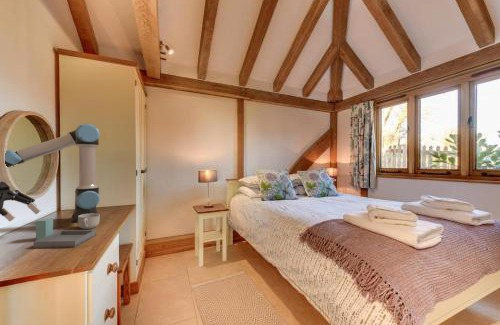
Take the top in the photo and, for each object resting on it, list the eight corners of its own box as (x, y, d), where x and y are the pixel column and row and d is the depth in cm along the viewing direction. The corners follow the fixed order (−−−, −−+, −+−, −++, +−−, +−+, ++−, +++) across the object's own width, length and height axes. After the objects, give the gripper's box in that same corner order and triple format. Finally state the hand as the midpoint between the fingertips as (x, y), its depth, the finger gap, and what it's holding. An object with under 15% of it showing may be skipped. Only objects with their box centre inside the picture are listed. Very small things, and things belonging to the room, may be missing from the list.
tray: (60, 235, 112) (61, 230, 112) (96, 235, 114) (96, 229, 114) (33, 247, 97) (33, 241, 97) (74, 247, 99) (75, 241, 98)
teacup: (84, 225, 131) (84, 212, 131) (103, 224, 133) (103, 212, 133) (69, 233, 117) (70, 219, 117) (91, 232, 119) (91, 218, 119)
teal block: (43, 237, 110) (44, 218, 110) (52, 237, 110) (53, 218, 110) (35, 240, 105) (36, 220, 105) (45, 240, 106) (45, 220, 106)
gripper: (14, 188, 117) (42, 214, 119) (-44, 195, 92) (-8, 228, 94) (24, 179, 118) (52, 205, 119) (-30, 183, 93) (6, 216, 94)
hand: (26, 215), depth 106 cm, fingers open, 13 cm apart
